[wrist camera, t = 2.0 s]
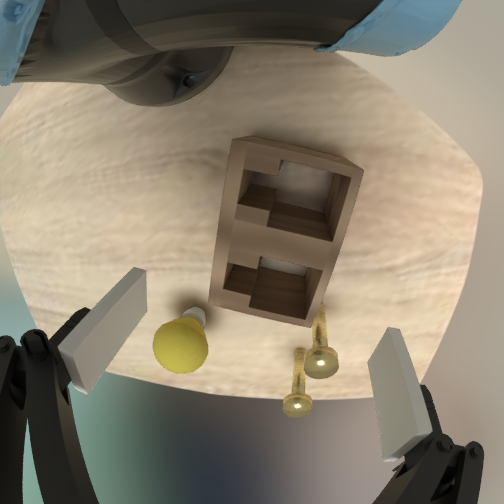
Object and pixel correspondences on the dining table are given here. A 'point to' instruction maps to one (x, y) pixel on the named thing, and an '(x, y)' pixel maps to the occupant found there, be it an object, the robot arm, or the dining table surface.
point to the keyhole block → (278, 233)
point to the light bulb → (182, 342)
